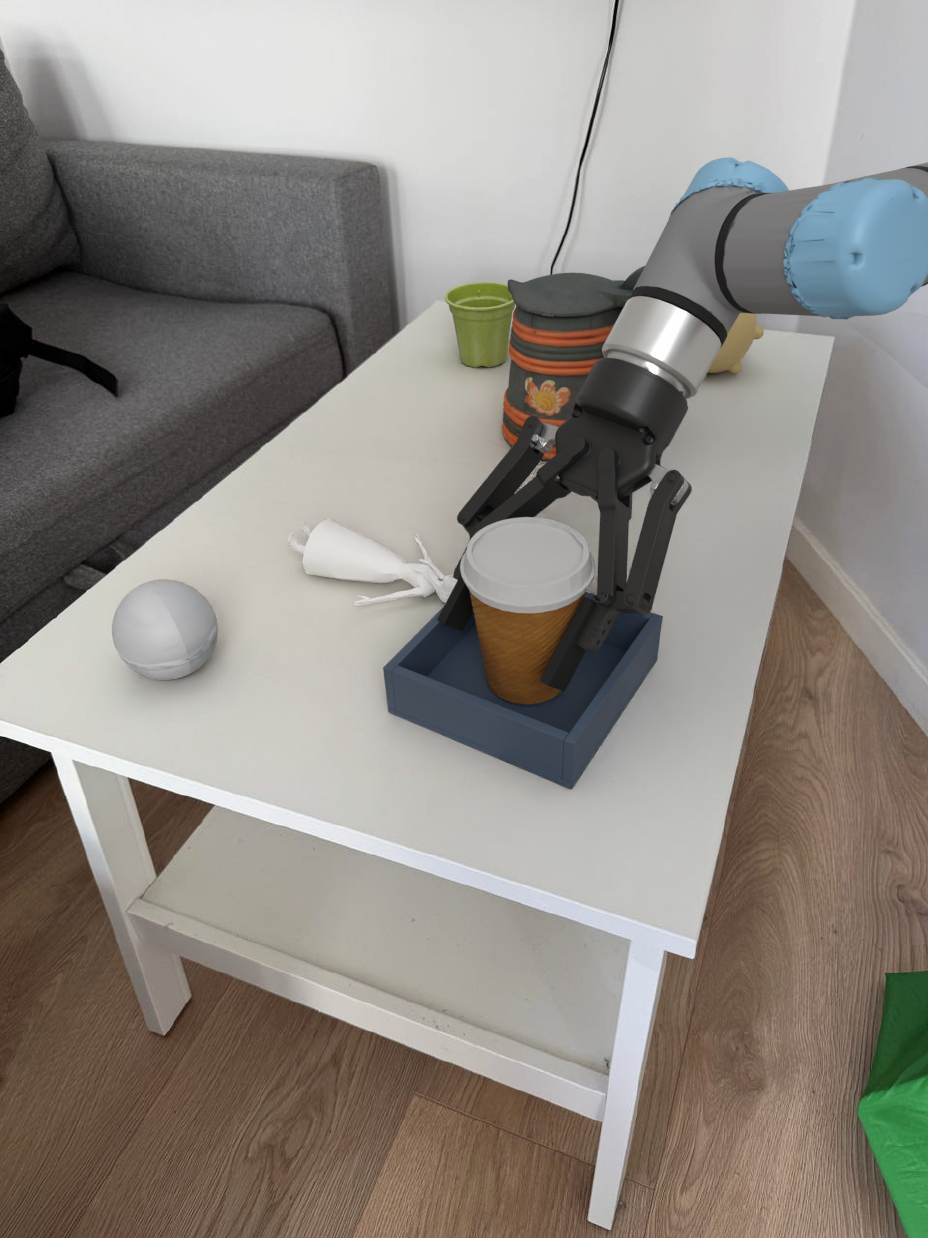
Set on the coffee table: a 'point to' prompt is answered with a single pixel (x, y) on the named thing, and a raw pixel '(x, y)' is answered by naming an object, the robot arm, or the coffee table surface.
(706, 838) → the coffee table surface
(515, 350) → the lidded tankard
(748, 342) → the toy pig
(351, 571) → the woman figurine
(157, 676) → the bath bomb
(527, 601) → the disposable coffee cup
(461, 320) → the plant pot
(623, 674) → the bin
